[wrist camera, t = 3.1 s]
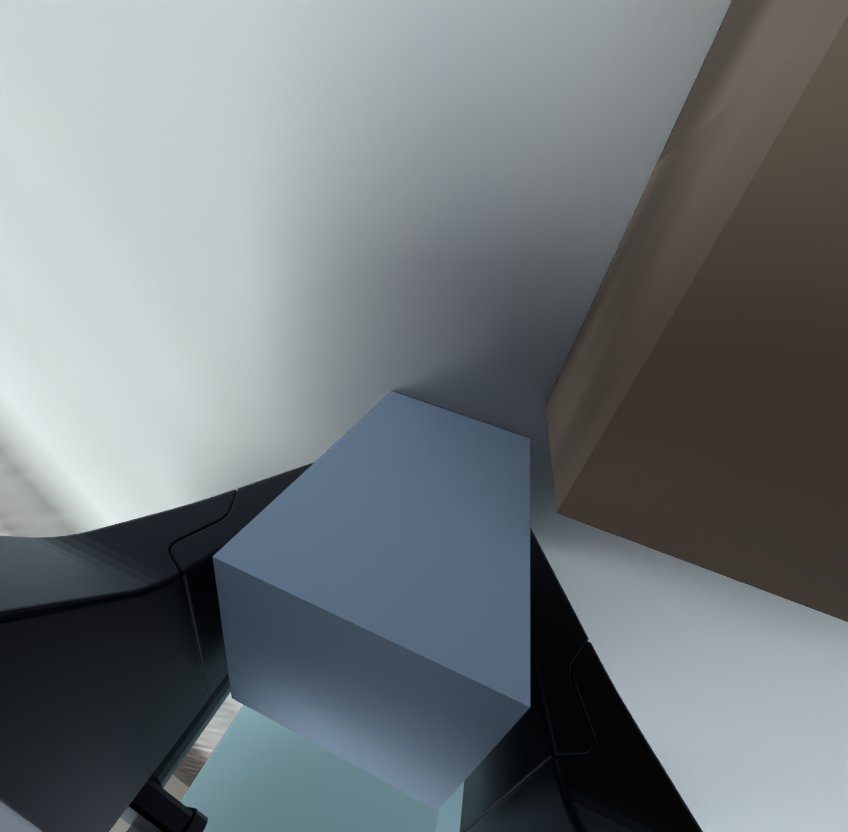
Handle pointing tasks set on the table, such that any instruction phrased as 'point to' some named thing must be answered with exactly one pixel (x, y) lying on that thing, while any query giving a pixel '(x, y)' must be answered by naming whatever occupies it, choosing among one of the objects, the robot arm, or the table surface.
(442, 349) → the table surface
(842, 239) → the well block
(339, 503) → the solid blue gray block
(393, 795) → the right angle wall
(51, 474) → the table surface
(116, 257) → the table surface
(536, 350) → the table surface
